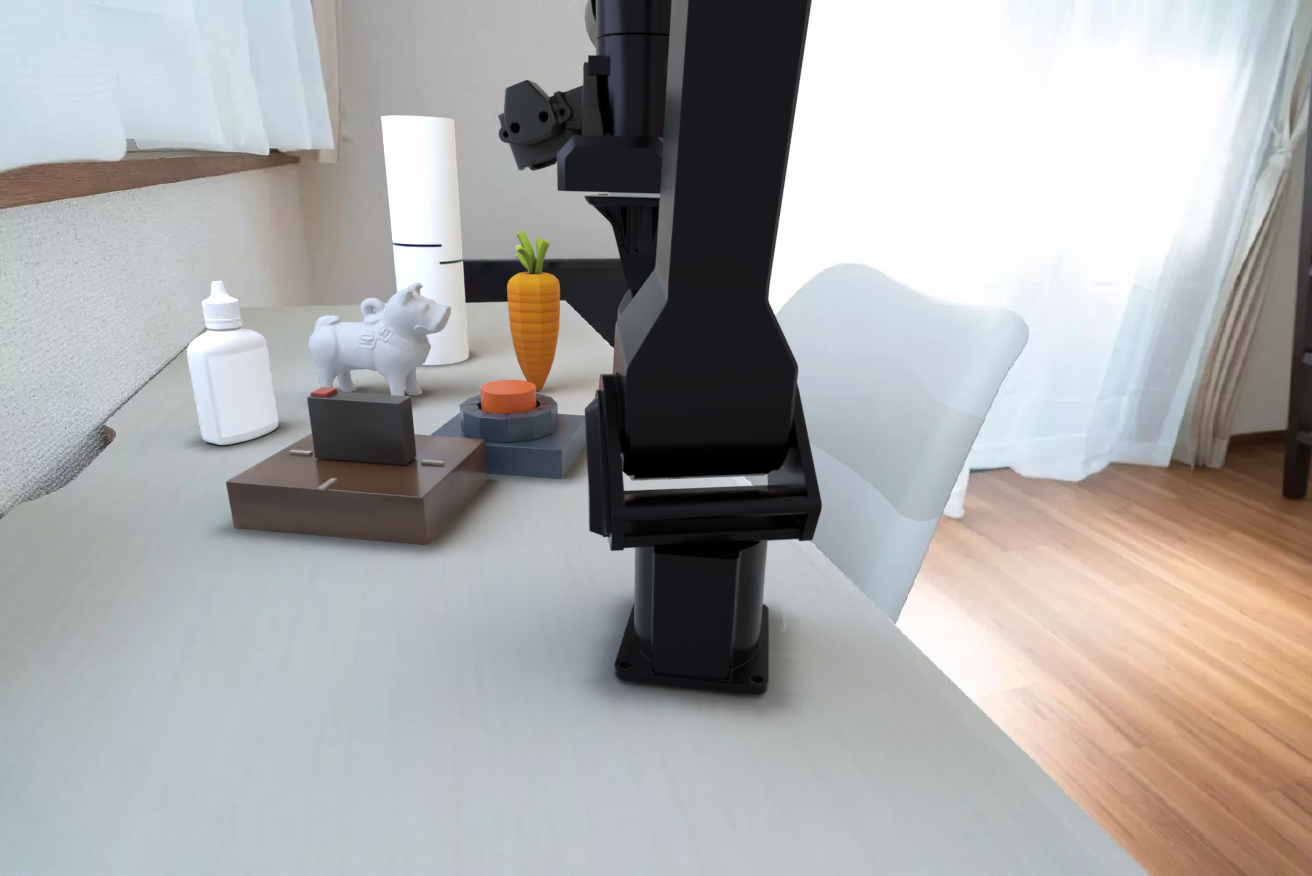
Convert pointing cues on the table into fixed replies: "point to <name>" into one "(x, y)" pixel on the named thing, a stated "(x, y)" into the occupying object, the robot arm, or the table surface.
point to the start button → (508, 396)
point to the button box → (522, 437)
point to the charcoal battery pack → (362, 426)
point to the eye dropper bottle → (231, 375)
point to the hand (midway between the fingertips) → (639, 306)
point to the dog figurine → (379, 341)
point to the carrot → (534, 312)
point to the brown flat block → (360, 492)
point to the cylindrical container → (428, 222)
